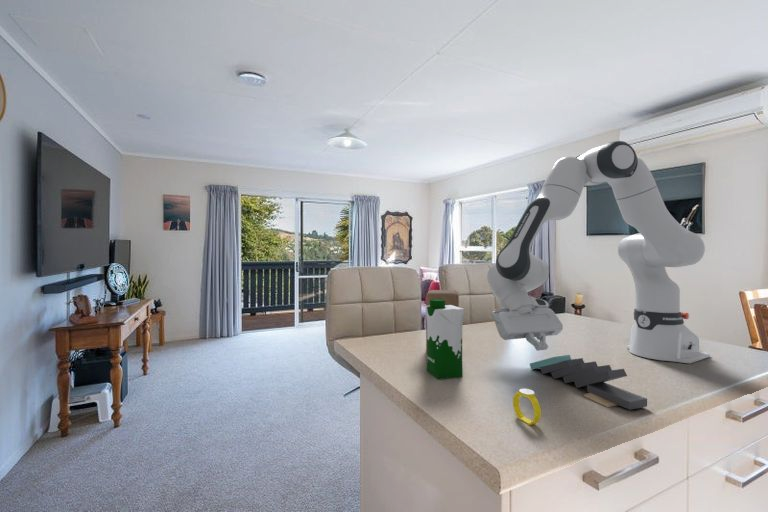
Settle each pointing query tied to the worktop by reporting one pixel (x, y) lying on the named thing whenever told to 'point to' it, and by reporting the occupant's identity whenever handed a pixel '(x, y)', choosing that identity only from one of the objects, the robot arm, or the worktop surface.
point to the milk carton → (444, 339)
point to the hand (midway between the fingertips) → (542, 349)
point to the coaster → (600, 400)
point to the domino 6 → (617, 395)
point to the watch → (536, 406)
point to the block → (448, 295)
